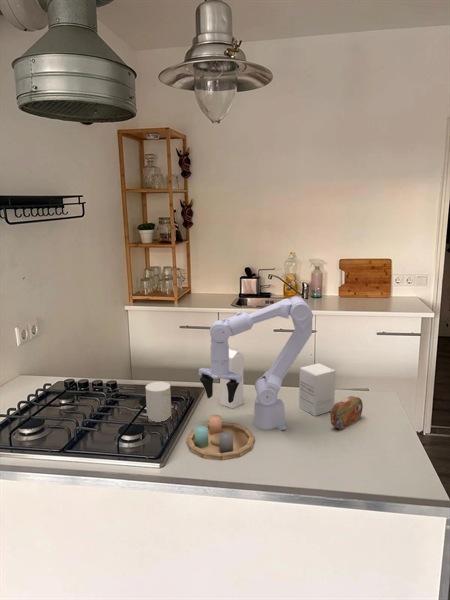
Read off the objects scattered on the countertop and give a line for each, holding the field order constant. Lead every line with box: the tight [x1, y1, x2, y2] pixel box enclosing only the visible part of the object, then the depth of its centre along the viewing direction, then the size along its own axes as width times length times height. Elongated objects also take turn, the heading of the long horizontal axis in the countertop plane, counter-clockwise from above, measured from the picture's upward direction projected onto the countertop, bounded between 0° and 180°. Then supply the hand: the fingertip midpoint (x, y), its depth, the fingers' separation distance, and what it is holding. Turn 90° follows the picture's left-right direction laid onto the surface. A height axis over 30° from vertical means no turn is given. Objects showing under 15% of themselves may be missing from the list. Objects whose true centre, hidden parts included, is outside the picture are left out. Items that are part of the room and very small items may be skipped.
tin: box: [330, 395, 363, 430], centre depth 153 cm, size 15×3×8 cm, turn 131°
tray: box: [185, 421, 256, 461], centre depth 141 cm, size 20×20×2 cm
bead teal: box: [194, 425, 208, 448], centre depth 139 cm, size 4×4×5 cm
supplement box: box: [298, 362, 336, 417], centre depth 163 cm, size 9×9×15 cm
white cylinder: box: [145, 381, 172, 422], centre depth 156 cm, size 8×8×12 cm
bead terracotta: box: [208, 414, 223, 435], centre depth 146 cm, size 4×4×5 cm
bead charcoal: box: [219, 432, 233, 453], centre depth 135 cm, size 4×4×5 cm
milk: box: [219, 344, 244, 410], centre depth 167 cm, size 6×6×22 cm
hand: (220, 399), depth 149 cm, fingers open, 7 cm apart
